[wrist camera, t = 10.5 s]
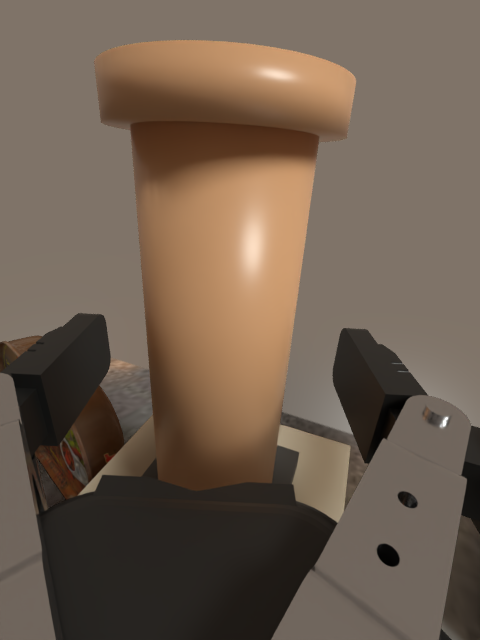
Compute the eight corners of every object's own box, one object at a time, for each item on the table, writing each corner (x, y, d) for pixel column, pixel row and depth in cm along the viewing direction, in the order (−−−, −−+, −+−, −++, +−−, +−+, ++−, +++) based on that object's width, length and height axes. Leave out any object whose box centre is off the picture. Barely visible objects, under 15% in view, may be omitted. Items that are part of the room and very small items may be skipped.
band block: (57, 674, 14) (4, 552, 10) (177, 485, 23) (173, 380, 19) (282, 830, 11) (324, 737, 7) (324, 544, 20) (354, 433, 16)
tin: (8, 415, 28) (-21, 327, 24) (47, 398, 30) (26, 315, 26) (94, 542, 19) (69, 434, 15) (141, 506, 21) (129, 403, 18)
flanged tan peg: (130, 628, 15) (23, 50, 6) (190, 517, 20) (182, 103, 11) (245, 695, 13) (342, 27, 4) (280, 556, 18) (362, 103, 9)
